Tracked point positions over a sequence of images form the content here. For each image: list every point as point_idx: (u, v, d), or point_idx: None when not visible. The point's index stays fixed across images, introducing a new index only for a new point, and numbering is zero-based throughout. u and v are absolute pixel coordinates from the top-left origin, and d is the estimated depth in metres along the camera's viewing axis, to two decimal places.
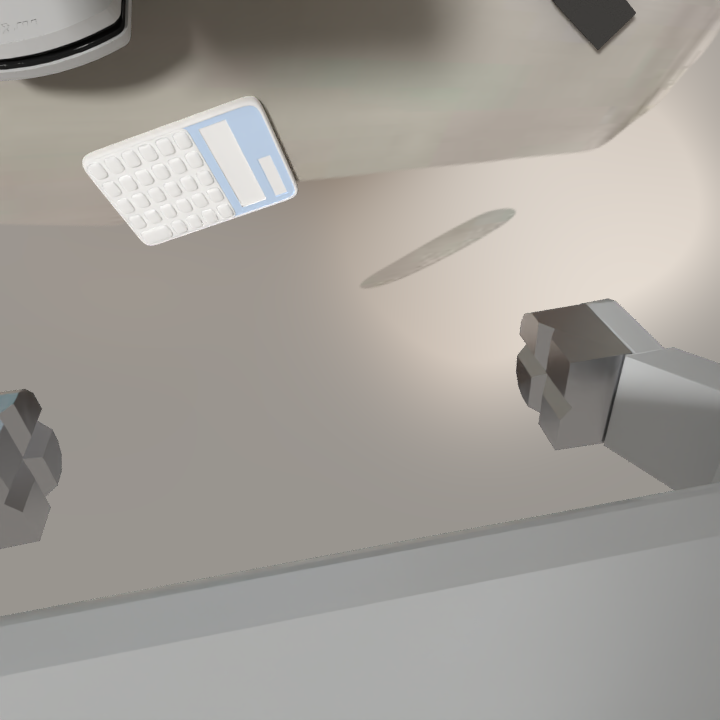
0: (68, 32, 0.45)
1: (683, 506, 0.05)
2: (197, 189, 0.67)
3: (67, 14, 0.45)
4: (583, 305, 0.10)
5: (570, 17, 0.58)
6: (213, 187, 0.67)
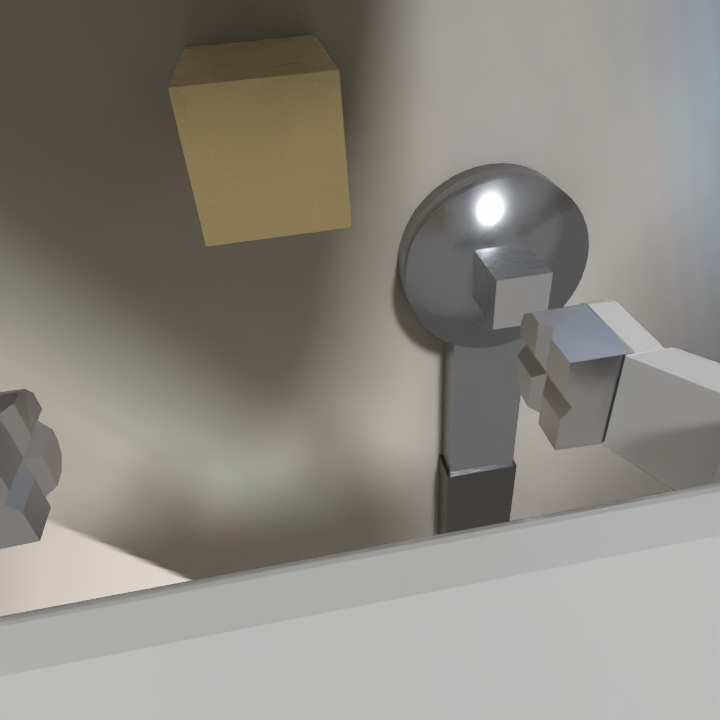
0: None
1: (683, 506, 0.05)
2: None
3: None
4: (583, 305, 0.10)
5: (449, 505, 0.38)
6: None
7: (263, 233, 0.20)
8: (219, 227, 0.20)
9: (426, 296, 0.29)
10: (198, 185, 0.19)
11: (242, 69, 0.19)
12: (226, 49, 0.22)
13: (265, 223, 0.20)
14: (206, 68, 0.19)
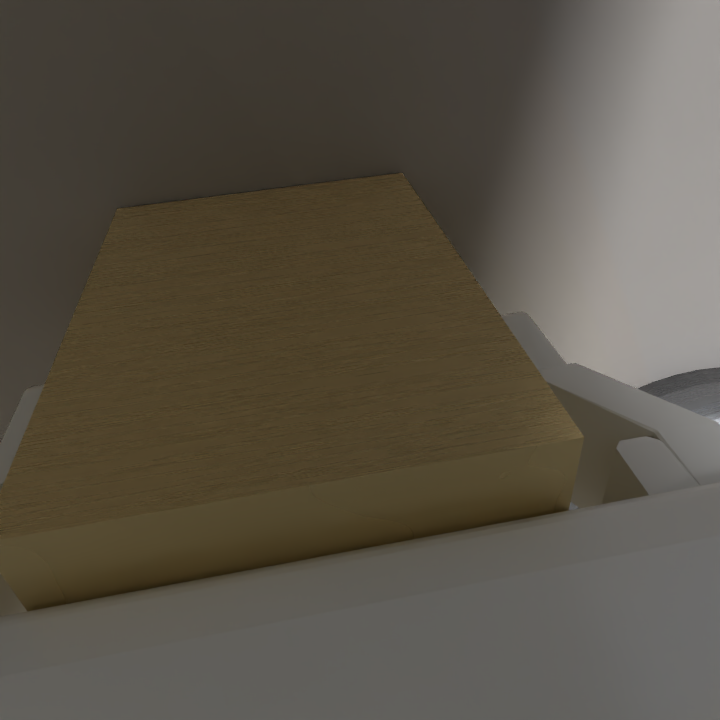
0: None
1: (683, 507, 0.05)
2: None
3: None
4: None
5: None
6: None
7: None
8: None
9: None
10: None
11: (250, 379, 0.06)
12: (209, 230, 0.09)
13: None
14: (145, 353, 0.07)
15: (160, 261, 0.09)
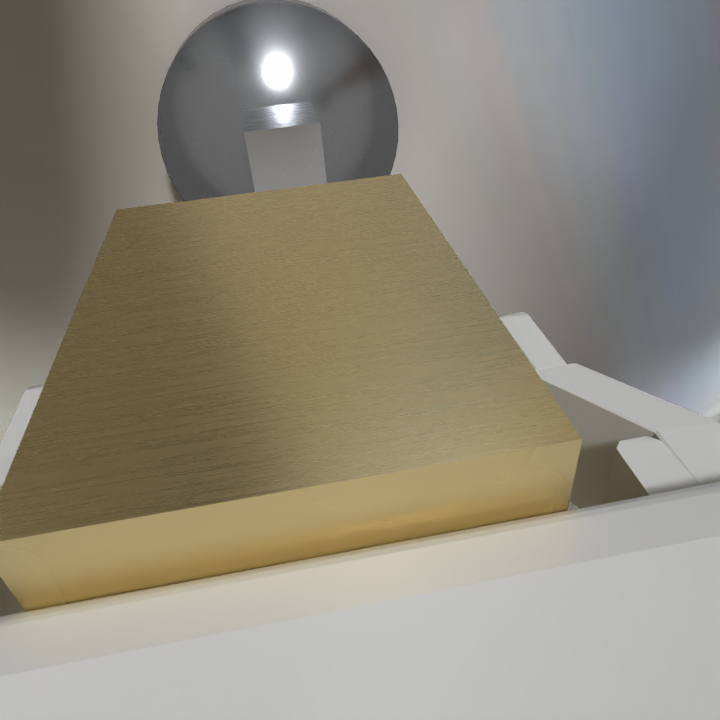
0: None
1: (684, 506, 0.05)
2: None
3: None
4: None
5: None
6: None
7: None
8: None
9: (193, 175, 0.23)
10: None
11: (249, 381, 0.06)
12: (208, 231, 0.09)
13: None
14: (144, 355, 0.07)
15: (159, 262, 0.09)
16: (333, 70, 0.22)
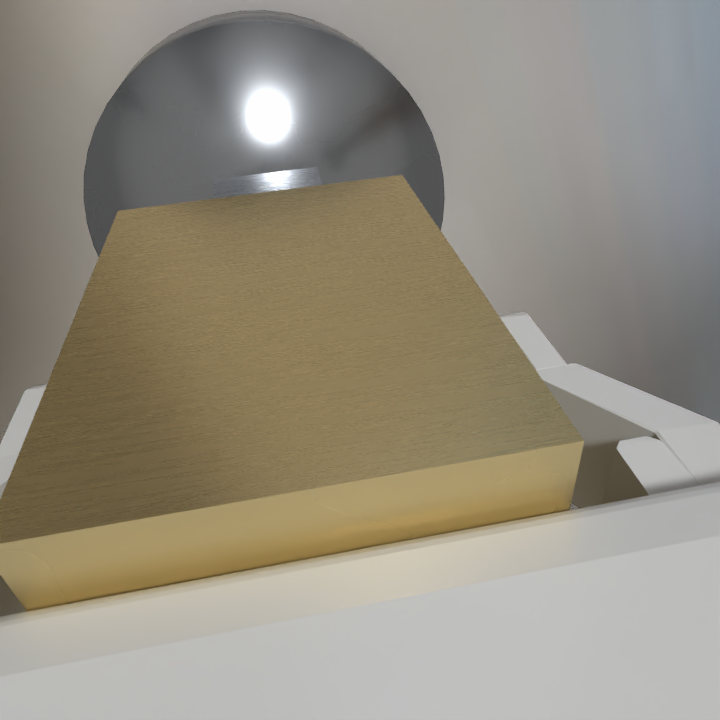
0: None
1: (683, 506, 0.05)
2: None
3: None
4: None
5: None
6: None
7: None
8: None
9: None
10: None
11: (251, 382, 0.06)
12: (209, 232, 0.09)
13: None
14: (146, 356, 0.07)
15: (161, 264, 0.09)
16: (351, 122, 0.14)
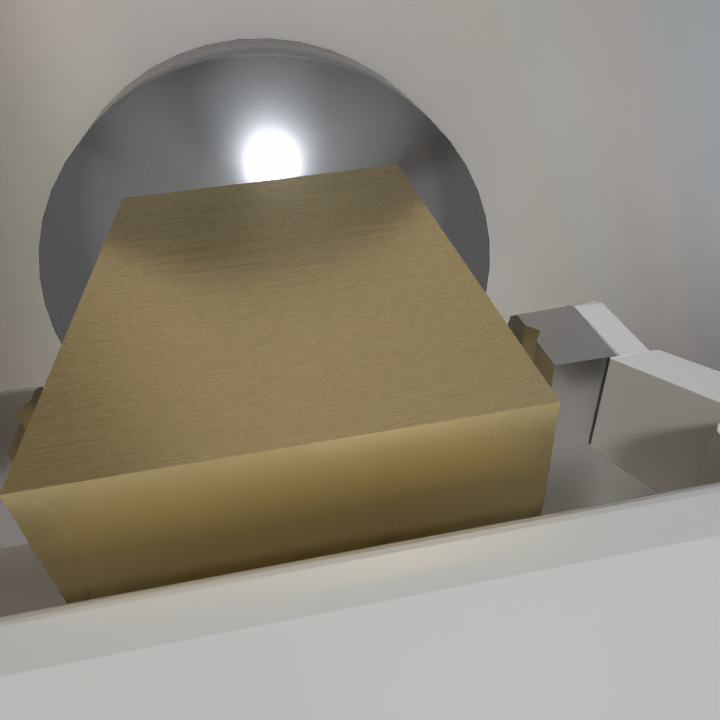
0: None
1: (682, 506, 0.05)
2: None
3: None
4: (570, 307, 0.10)
5: None
6: None
7: None
8: None
9: None
10: None
11: (250, 352, 0.07)
12: (211, 217, 0.10)
13: None
14: (151, 329, 0.07)
15: (164, 246, 0.09)
16: None
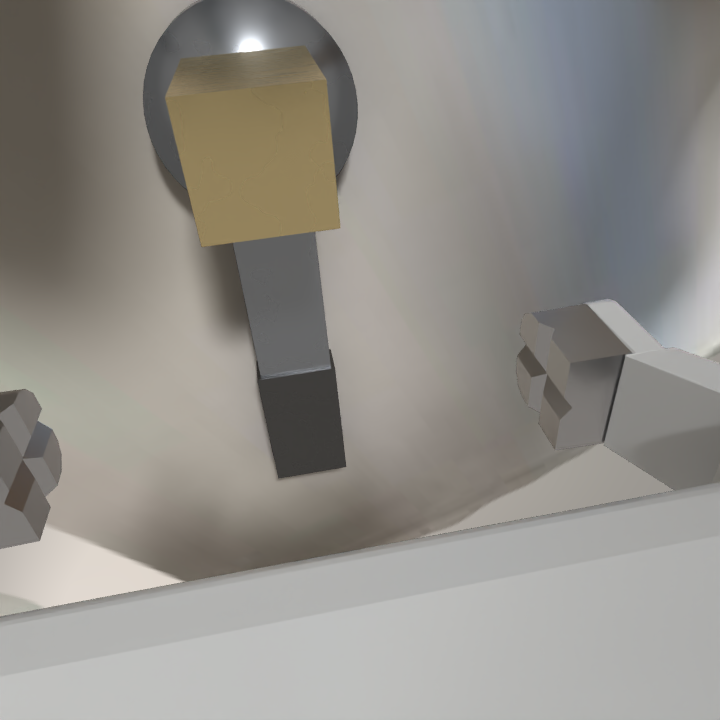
0: None
1: (682, 506, 0.05)
2: None
3: None
4: (583, 306, 0.10)
5: (267, 415, 0.35)
6: None
7: (256, 234, 0.21)
8: (214, 228, 0.21)
9: (175, 146, 0.26)
10: (194, 188, 0.20)
11: (235, 79, 0.20)
12: (220, 60, 0.23)
13: (258, 224, 0.21)
14: (201, 78, 0.20)
15: (202, 66, 0.22)
16: None
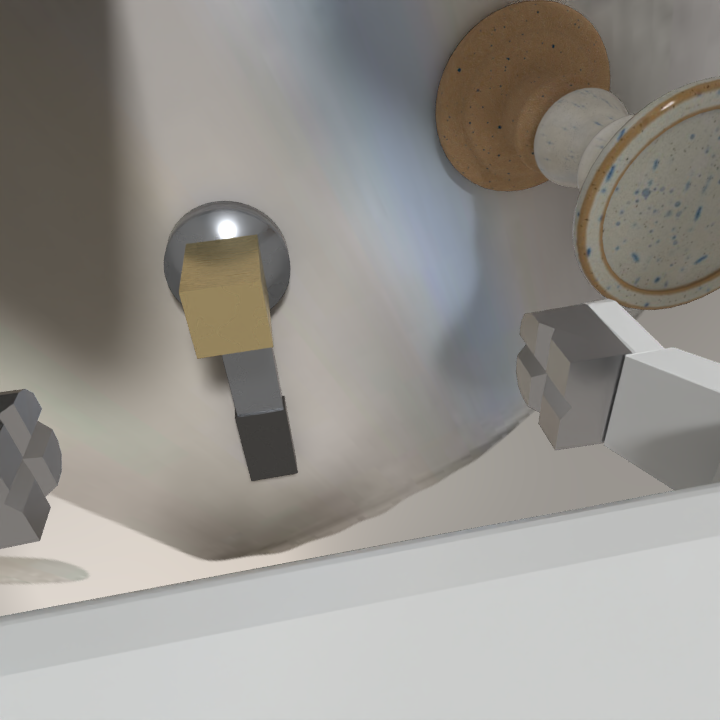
0: None
1: (683, 506, 0.05)
2: None
3: None
4: (583, 305, 0.10)
5: (242, 439, 0.53)
6: None
7: (227, 351, 0.40)
8: (204, 349, 0.39)
9: None
10: (193, 331, 0.38)
11: (215, 275, 0.38)
12: (208, 249, 0.41)
13: (227, 347, 0.39)
14: (197, 272, 0.38)
15: (198, 256, 0.40)
16: None
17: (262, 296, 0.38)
